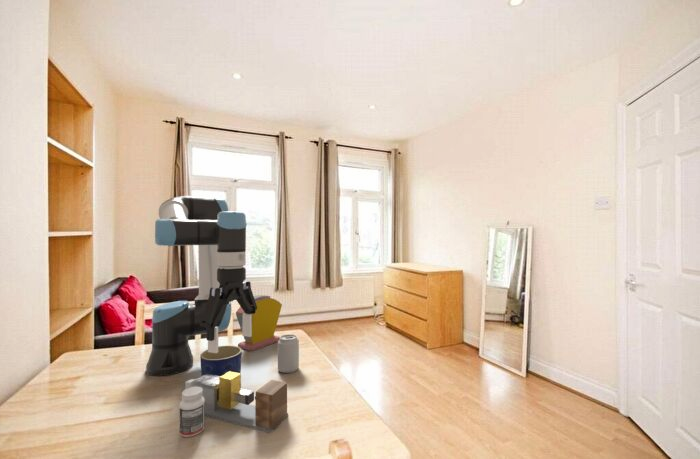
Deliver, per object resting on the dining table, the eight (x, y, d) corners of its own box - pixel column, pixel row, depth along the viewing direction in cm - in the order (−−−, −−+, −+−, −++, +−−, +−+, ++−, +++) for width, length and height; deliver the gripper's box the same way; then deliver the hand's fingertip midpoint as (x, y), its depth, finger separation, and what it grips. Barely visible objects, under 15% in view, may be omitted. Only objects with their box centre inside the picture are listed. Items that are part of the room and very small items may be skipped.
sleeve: (191, 409, 89) (191, 381, 89) (206, 399, 94) (206, 373, 94) (214, 414, 86) (214, 386, 86) (228, 404, 91) (228, 377, 91)
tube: (182, 398, 91) (183, 370, 91) (194, 391, 94) (194, 364, 94) (246, 413, 83) (246, 382, 83) (255, 405, 87) (255, 376, 87)
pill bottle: (185, 424, 82) (185, 385, 82) (208, 423, 82) (208, 384, 82) (175, 438, 76) (175, 397, 76) (199, 437, 76) (199, 396, 76)
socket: (254, 427, 80) (254, 391, 80) (270, 412, 87) (270, 379, 87) (272, 431, 79) (272, 395, 79) (287, 416, 85) (287, 382, 85)
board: (187, 411, 87) (187, 409, 87) (209, 397, 95) (209, 395, 95) (271, 432, 78) (271, 430, 78) (288, 415, 86) (288, 413, 86)
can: (301, 365, 118) (301, 333, 118) (295, 374, 110) (295, 340, 110) (281, 365, 118) (281, 332, 119) (274, 373, 111) (274, 339, 111)
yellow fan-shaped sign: (272, 335, 153) (272, 290, 153) (285, 339, 147) (285, 292, 148) (231, 349, 135) (232, 298, 135) (245, 353, 129) (245, 301, 130)
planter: (249, 381, 105) (249, 348, 105) (220, 399, 94) (220, 362, 94) (222, 374, 110) (222, 343, 111) (191, 390, 99) (191, 355, 99)
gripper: (208, 272, 75) (207, 362, 75) (268, 263, 99) (268, 331, 98) (184, 271, 78) (183, 358, 77) (248, 262, 101) (248, 329, 101)
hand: (231, 343), depth 88 cm, fingers open, 13 cm apart
